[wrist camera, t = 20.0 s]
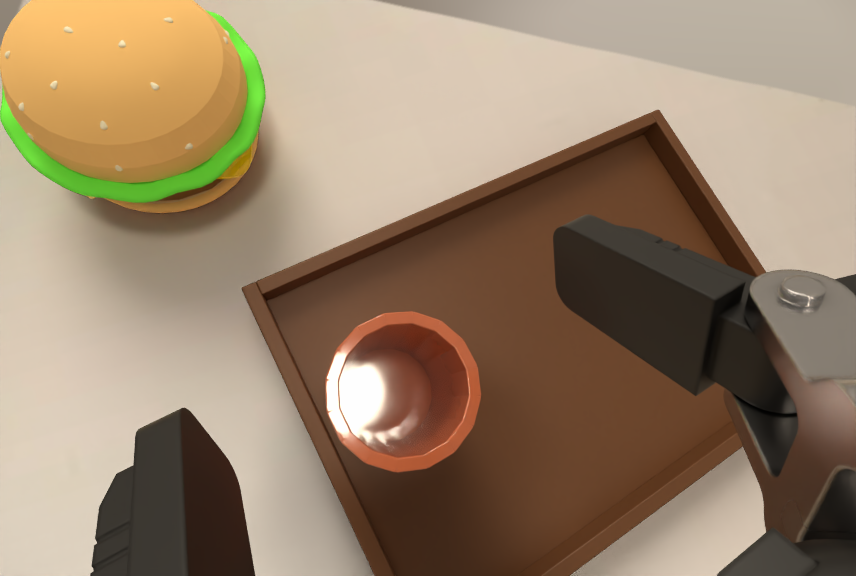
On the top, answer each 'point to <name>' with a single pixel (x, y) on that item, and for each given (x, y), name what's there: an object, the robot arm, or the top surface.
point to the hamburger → (132, 100)
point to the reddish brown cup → (402, 391)
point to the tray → (515, 364)
